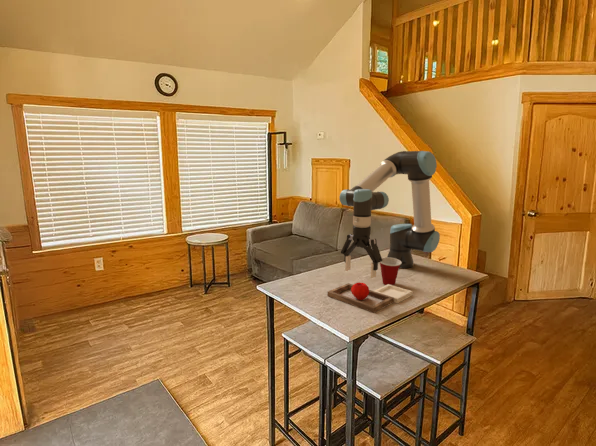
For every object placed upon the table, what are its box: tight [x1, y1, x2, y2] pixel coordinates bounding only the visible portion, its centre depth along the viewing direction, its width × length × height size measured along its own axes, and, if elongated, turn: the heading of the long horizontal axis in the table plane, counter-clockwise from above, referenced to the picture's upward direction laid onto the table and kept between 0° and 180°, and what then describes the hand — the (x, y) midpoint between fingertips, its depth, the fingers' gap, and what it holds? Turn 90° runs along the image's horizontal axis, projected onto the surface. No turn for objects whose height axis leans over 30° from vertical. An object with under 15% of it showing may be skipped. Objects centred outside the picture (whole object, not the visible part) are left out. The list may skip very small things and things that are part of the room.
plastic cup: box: [379, 256, 402, 286], centre depth 182 cm, size 11×11×12 cm
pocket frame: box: [327, 282, 395, 313], centre depth 165 cm, size 15×25×2 cm, turn 44°
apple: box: [350, 282, 370, 301], centre depth 165 cm, size 8×8×7 cm
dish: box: [373, 284, 413, 304], centre depth 169 cm, size 12×12×2 cm
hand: (360, 273), depth 163 cm, fingers open, 13 cm apart
